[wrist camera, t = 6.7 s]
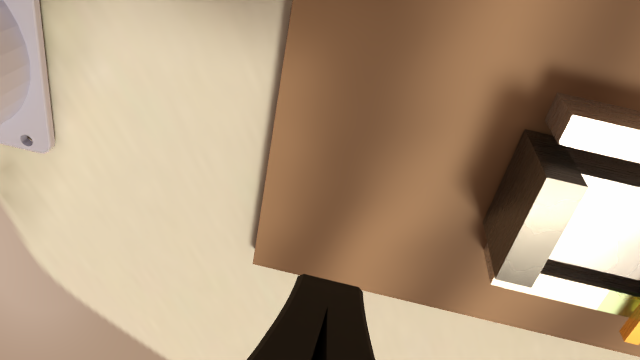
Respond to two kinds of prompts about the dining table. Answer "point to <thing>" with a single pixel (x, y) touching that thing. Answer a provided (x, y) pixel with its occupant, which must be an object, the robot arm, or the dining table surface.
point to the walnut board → (430, 142)
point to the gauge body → (604, 138)
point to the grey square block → (565, 215)
